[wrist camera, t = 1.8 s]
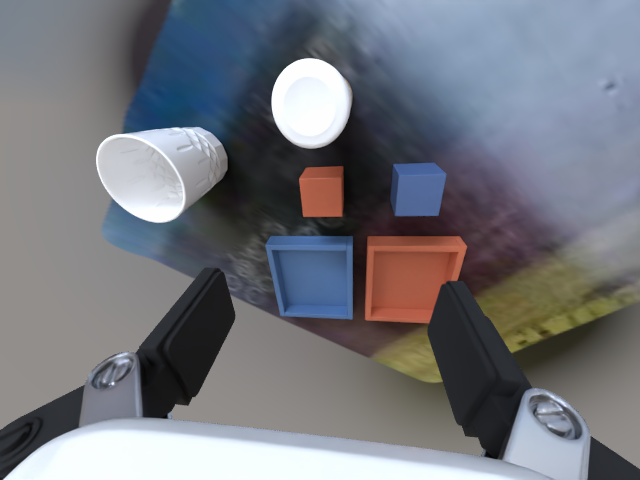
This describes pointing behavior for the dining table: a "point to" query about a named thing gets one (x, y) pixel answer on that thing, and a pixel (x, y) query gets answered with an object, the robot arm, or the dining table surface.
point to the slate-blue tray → (312, 275)
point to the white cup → (160, 170)
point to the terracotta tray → (409, 275)
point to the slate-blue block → (417, 189)
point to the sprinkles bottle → (311, 103)
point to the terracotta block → (322, 191)
